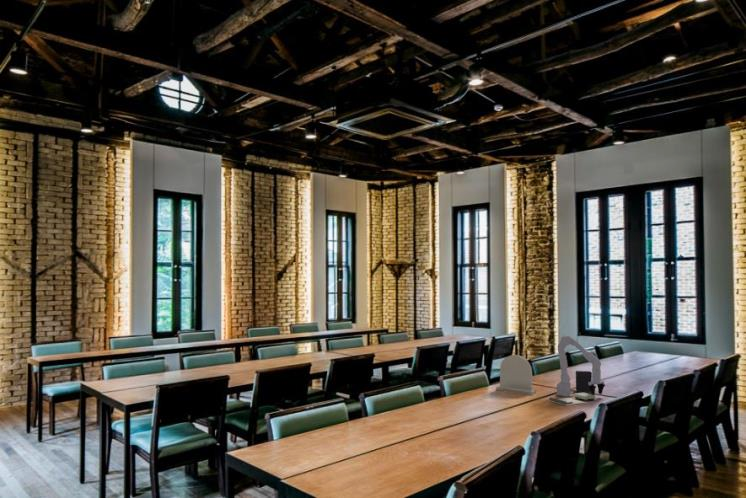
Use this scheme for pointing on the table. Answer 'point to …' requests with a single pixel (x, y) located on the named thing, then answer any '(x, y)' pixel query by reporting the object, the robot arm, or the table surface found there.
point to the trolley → (584, 396)
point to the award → (516, 375)
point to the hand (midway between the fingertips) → (596, 394)
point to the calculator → (583, 380)
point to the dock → (565, 401)
